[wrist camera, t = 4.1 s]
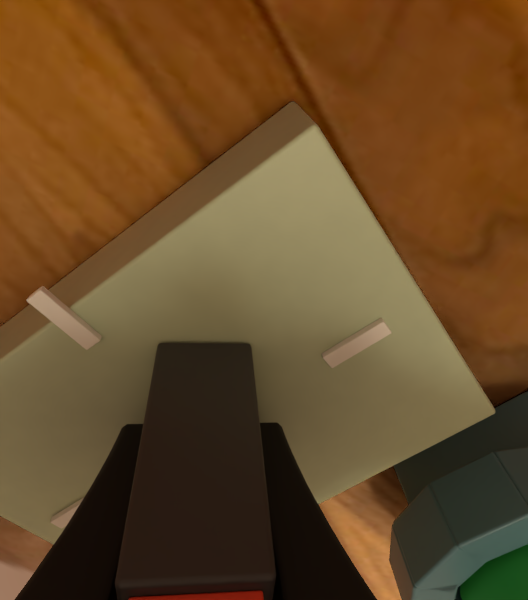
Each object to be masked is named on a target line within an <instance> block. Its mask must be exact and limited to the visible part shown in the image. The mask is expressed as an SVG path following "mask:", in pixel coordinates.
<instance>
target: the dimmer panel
mask: <svg viewBox="0 0 528 600" xmlns="http://www.w3.org/2000/svg"><path fill="white" fill-rule="evenodd" d="M26 301H27V302H28V303H30V304H29V305H28V306H27V307H25V308H24V309H23V310H22V311H20V312H19V313H18V314H16V315H15V316H14V317H13V318H11V319H10V320H9V321H7V322H6V323H5V324H4V325H2V326H1V327H0V516H1V517H3V518H5V519H7V520H9V521H11V522H12V523H14V524H16V525H18V526H20V527H22V528H24V529H25V530H27V531H29V532H31V533H33V534H35V535H37V536H38V537H40V538H42V539H44V540H46V541H48V542H50V543H51V544H53V545H54V543H55V542H56V541H57V539H58V538H59V536H60V535H61V533H62V532H63V530H64V529H65V527H66V526H67V524H68V523H69V521H70V519H71V518H72V516H73V515H74V513H75V511H76V510H77V508H78V506H79V505H80V503H81V502H82V500H83V498H84V497H85V495H86V494H87V492H88V490H89V489H90V487H91V485H92V484H93V482H94V480H95V478H96V477H97V475H98V473H99V471H100V470H101V468H102V466H103V464H104V462H105V461H106V459H107V457H108V455H109V453H110V451H111V449H112V447H113V445H114V443H115V441H116V439H117V437H118V435H119V433H120V431H121V428H123V427H124V426H125V425H126V424H143V423H144V418H145V412H146V406H147V401H148V395H149V390H150V384H151V379H152V373H153V368H154V362H155V356H156V351H157V346H158V344H159V343H245V344H250V345H251V347H252V356H253V365H254V374H255V383H256V393H257V402H258V411H259V420H260V423H270V422H277V423H278V424H280V425H281V426H282V428H283V431H284V434H285V436H286V439H287V441H288V444H289V446H290V449H291V451H292V453H293V455H294V458H295V460H296V462H297V464H298V466H299V468H300V470H301V472H302V474H303V477H304V479H305V481H306V483H307V485H308V486H309V488H310V490H311V492H312V494H313V496H314V498H315V500H316V501H317V503H318V504H320V503H322V502H324V501H326V500H328V499H330V498H332V497H334V496H336V495H337V494H339V493H341V492H343V491H345V490H347V489H349V488H351V487H353V486H355V485H357V484H359V483H361V482H363V481H365V480H367V479H369V478H371V477H373V476H374V475H376V474H378V473H380V472H382V471H384V470H386V469H388V468H390V467H392V466H394V465H396V464H398V463H400V462H402V461H404V460H406V459H408V458H409V457H411V456H413V455H415V454H417V453H419V452H421V451H423V450H425V449H427V448H429V447H431V446H433V445H435V444H437V443H439V442H441V441H443V440H445V439H446V438H448V437H450V436H452V435H454V434H456V433H458V432H460V431H462V430H464V429H466V428H468V427H470V426H472V425H474V424H476V423H478V422H480V421H481V420H483V419H485V418H487V417H489V416H491V415H493V414H494V413H495V408H494V407H493V405H492V403H491V402H490V400H489V399H488V397H487V395H486V394H485V392H484V391H483V389H482V387H481V386H480V384H479V383H478V381H477V379H476V378H475V376H474V375H473V373H472V371H471V370H470V368H469V367H468V365H467V363H466V362H465V360H464V359H463V357H462V355H461V354H460V352H459V351H458V349H457V347H456V346H455V344H454V343H453V341H452V339H451V338H450V336H449V335H448V333H447V331H446V330H445V328H444V327H443V325H442V323H441V322H440V320H439V319H438V317H437V315H436V314H435V312H434V311H433V309H432V307H431V306H430V304H429V303H428V301H427V299H426V298H425V296H424V294H423V293H422V291H421V290H420V288H419V286H418V285H417V283H416V282H415V280H414V278H413V277H412V275H411V274H410V272H409V270H408V269H407V267H406V266H405V264H404V262H403V261H402V259H401V258H400V256H399V254H398V253H397V251H396V250H395V248H394V246H393V245H392V243H391V242H390V240H389V238H388V237H387V235H386V234H385V232H384V230H383V229H382V227H381V226H380V224H379V222H378V221H377V219H376V218H375V216H374V214H373V213H372V211H371V210H370V208H369V206H368V205H367V203H366V202H365V200H364V198H363V197H362V195H361V194H360V192H359V190H358V189H357V187H356V186H355V184H354V182H353V181H352V179H351V178H350V176H349V174H348V173H347V171H346V170H345V168H344V166H343V165H342V163H341V161H340V160H339V158H338V157H337V155H336V153H335V152H334V150H333V149H332V147H331V145H330V144H329V142H328V141H327V139H326V137H325V136H324V134H323V133H322V131H321V129H320V128H319V126H318V125H317V124H316V123H315V122H314V121H313V120H312V119H311V118H310V117H309V116H308V115H307V114H306V113H305V112H304V111H303V110H302V109H301V108H300V107H299V105H298V104H297V103H295V102H294V101H293V102H290V103H289V104H288V105H286V106H285V107H284V108H282V109H281V110H280V111H278V112H277V113H276V114H275V115H273V116H272V117H271V118H269V119H268V120H267V121H266V122H264V123H263V124H262V125H260V126H259V127H258V128H257V129H255V130H254V131H253V132H251V133H250V134H249V135H248V136H246V137H245V138H244V139H242V140H241V141H240V142H238V143H237V144H236V145H235V146H233V147H232V148H231V149H229V150H228V151H227V152H226V153H224V154H223V155H222V156H220V157H219V158H218V159H217V160H215V161H214V162H213V163H211V164H210V165H209V166H207V167H206V168H205V169H204V170H202V171H201V172H200V173H198V174H197V175H196V176H195V177H193V178H192V179H191V180H189V181H188V182H187V183H186V184H184V185H183V186H182V187H180V188H179V189H178V190H177V191H175V192H174V193H173V194H171V195H170V196H169V197H167V198H166V199H165V200H164V201H162V202H161V203H160V204H158V205H157V206H156V207H155V208H153V209H152V210H151V211H149V212H148V213H147V214H146V215H144V216H143V217H142V218H140V219H139V220H138V221H136V222H135V223H134V224H133V225H131V226H130V227H129V228H127V229H126V230H125V231H124V232H122V233H121V234H120V235H118V236H117V237H116V238H115V239H113V240H112V241H111V242H109V243H108V244H107V245H106V246H104V247H103V248H102V249H100V250H99V251H98V252H96V253H95V254H94V255H93V256H91V257H90V258H89V259H87V260H86V261H85V262H84V263H82V264H81V265H80V266H78V267H77V268H76V269H75V270H73V271H72V272H71V273H69V274H68V275H67V276H65V277H64V278H63V279H62V280H60V281H59V282H58V283H56V284H55V285H54V286H53V287H51V288H50V289H49V290H47V289H46V288H45V287H44V286H41V287H40V288H39V289H37V290H36V291H35V292H34V293H32V294H31V295H30V296H29V297H28V298H27V300H26Z"/></svg>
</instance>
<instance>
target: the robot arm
mask: <svg viewBox="0 0 528 600" xmlns="http://www.w3.org/2000/svg"><path fill="white" fill-rule="evenodd" d="M142 429H143V424H126V425H125V426H124V427H123V428H121V431H120V433H119V435H118V437H117V439H116V441H115V443H114V445H113V447H112V449H111V451H110V453H109V455H108V457H107V459H106V461H105V462H104V464H103V466H102V468H101V470H100V471H99V473H98V475H97V477H96V478H95V480H94V482H93V484H92V485H91V487H90V489H89V490H88V492H87V494H86V495H85V497H84V498H83V500H82V502H81V503H80V505H79V506H78V508H77V510H76V511H75V513H74V515H73V516H72V518H71V519H70V521H69V523H68V524H67V526H66V527H65V529H64V530H63V532H62V533H61V535H60V536H59V538H58V539H57V541H56V542H55V543H54V545H53V546H52V548H51V549H50V551H49V552H48V554H47V555H46V557H45V558H44V559H43V561H42V562H41V564H40V565H39V567H38V568H37V570H36V571H35V572H34V574H33V575H32V577H31V578H30V580H29V581H28V582H27V584H26V585H25V587H24V588H23V589H22V590H21V592H20V593H19V595H18V596H17V597H16V599H15V600H117V594H116V588H115V579H116V573H117V567H118V562H119V556H120V551H121V545H122V540H123V534H124V529H125V523H126V518H127V512H128V506H129V501H130V495H131V490H132V484H133V479H134V473H135V468H136V462H137V456H138V451H139V445H140V440H141V434H142ZM260 429H261V439H262V448H263V457H264V466H265V476H266V485H267V494H268V503H269V513H270V522H271V531H272V540H273V550H274V559H275V568H276V580H275V586H274V593H273V599H272V600H377V599H376V598H375V596H374V595H373V593H372V592H371V590H370V589H369V587H368V586H367V584H366V583H365V581H364V580H363V578H362V577H361V575H360V574H359V572H358V571H357V569H356V567H355V566H354V564H353V563H352V561H351V559H350V558H349V556H348V555H347V553H346V551H345V550H344V548H343V547H342V545H341V543H340V542H339V540H338V538H337V537H336V535H335V533H334V532H333V530H332V528H331V527H330V525H329V523H328V521H327V520H326V518H325V516H324V514H323V512H322V510H321V509H320V507H319V505H318V503H317V501H316V500H315V498H314V496H313V494H312V492H311V490H310V488H309V486H308V485H307V483H306V481H305V479H304V477H303V474H302V472H301V470H300V468H299V466H298V464H297V462H296V460H295V458H294V455H293V453H292V451H291V449H290V446H289V444H288V441H287V439H286V436H285V434H284V431H283V428H282V426H281V425H280V424H278V423H277V422H270V423H260Z"/></svg>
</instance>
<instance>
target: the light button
mask: <svg viewBox="0 0 528 600" xmlns="http://www.w3.org/2000/svg"><path fill="white" fill-rule="evenodd" d="M460 595H461V598H462V600H528V544H527V545H524V546H522V547H520V548H518V549H515V550H513V551H511V552H508V553H506V554H504V555H501V556H499V557H497V558H494V559H492V560H490V561H488V562H486V563H485V564H484V565H483V566H482V567H480V568H479V569H478V570H477V571H476V572H475V573H474V574H472V575H471V576H470V577H469V578H468V579H467V580H466V581H465V582H463V583H462V584H461V585H460Z"/></svg>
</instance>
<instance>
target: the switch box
mask: <svg viewBox="0 0 528 600" xmlns="http://www.w3.org/2000/svg"><path fill="white" fill-rule="evenodd" d="M394 469H395V472H396V474H397V477H398V479H399V482H400V484H401V487H402V489H403V492H404V494H405V497H406V499H407V502H408V504H409V505H408V506H407V508H406V509H405V510H404V511H403V512H402V513H401V514H400V515H399V516H398V518H397V519H396V520H395V521H394V523H393V525H392V532H391V545H390V558H389V561H390V564H391V567H392V570H393V573H394V576H395V580H396V583H397V586H398V589H399V592H400V595H401V598H402V600H462V598H461V595H460V585H461V584H462V583H463V582H465V581H466V580H467V579H468V578H469V577H470V576H471V575H472V574H474V573H475V572H476V571H477V570H478V569H479V568H480V567H482V566H483V565H484V564H485V563H486V562H488V561H490V560H492V559H494V558H497V557H499V556H501V555H504V554H506V553H508V552H511V551H513V550H515V549H518V548H520V547H522V546H524V545H527V544H528V391H527V392H525V393H523V394H521V395H519V396H517V397H515V398H513V399H511V400H509V401H507V402H505V403H503V404H502V405H500V406H498V407H496V408H495V413H494V414H493V415H491V416H489V417H487V418H485V419H483V420H481V421H480V422H478V423H476V424H474V425H472V426H470V427H468V428H466V429H464V430H462V431H460V432H458V433H456V434H454V435H452V436H450V437H448V438H446V439H445V440H443V441H441V442H439V443H437V444H435V445H433V446H431V447H429V448H427V449H425V450H423V451H421V452H419V453H417V454H415V455H413V456H411V457H409V458H408V459H406V460H404V461H402V462H400V463H398V464H396V465H394Z"/></svg>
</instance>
